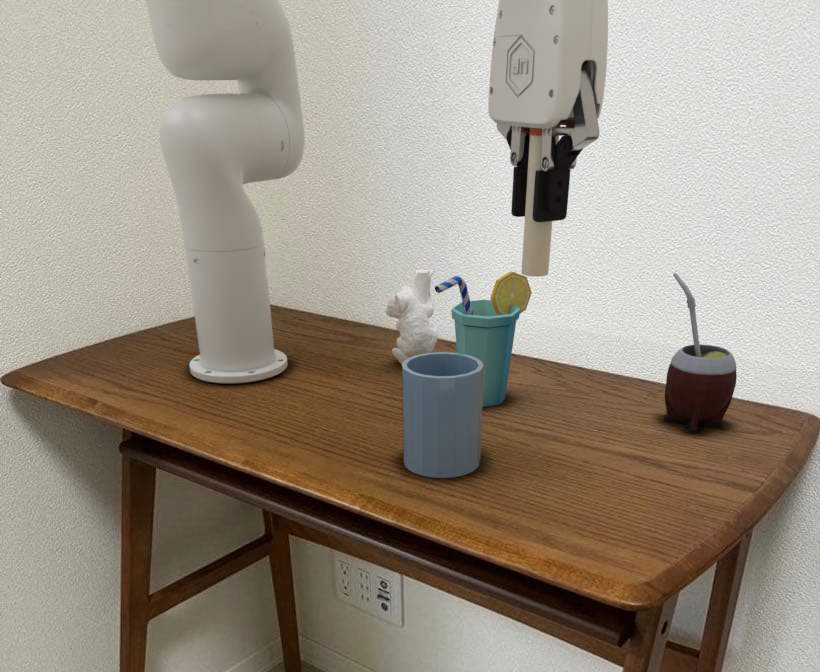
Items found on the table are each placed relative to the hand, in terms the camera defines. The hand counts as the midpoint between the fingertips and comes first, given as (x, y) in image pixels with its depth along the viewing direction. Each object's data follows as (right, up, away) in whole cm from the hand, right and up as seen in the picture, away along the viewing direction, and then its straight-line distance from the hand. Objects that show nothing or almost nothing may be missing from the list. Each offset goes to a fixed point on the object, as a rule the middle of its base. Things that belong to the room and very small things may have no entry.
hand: (538, 216), depth 71 cm
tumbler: (-8, -20, +11) cm, 24 cm away
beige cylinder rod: (0, -4, +2) cm, 5 cm away
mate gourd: (+20, -15, +19) cm, 31 cm away
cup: (-3, -12, +25) cm, 28 cm away
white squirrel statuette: (-10, -5, +37) cm, 39 cm away
